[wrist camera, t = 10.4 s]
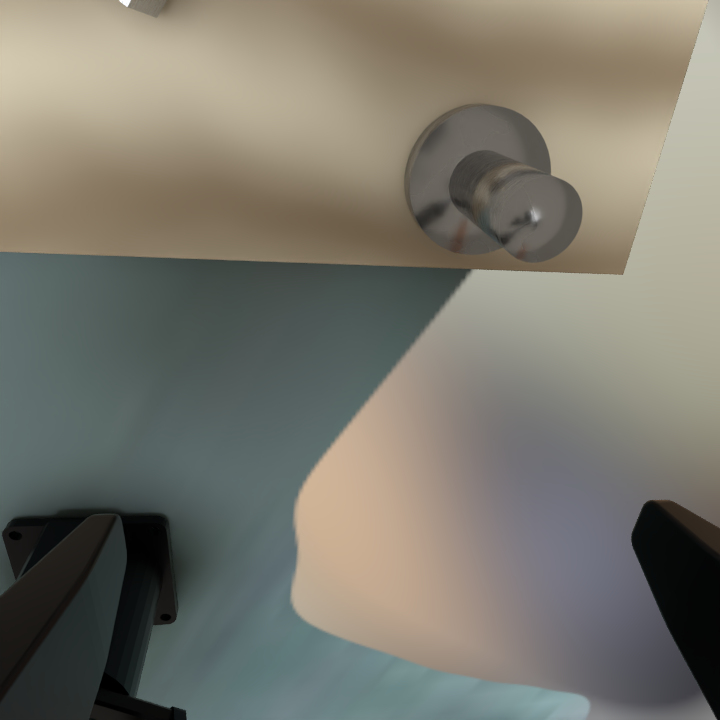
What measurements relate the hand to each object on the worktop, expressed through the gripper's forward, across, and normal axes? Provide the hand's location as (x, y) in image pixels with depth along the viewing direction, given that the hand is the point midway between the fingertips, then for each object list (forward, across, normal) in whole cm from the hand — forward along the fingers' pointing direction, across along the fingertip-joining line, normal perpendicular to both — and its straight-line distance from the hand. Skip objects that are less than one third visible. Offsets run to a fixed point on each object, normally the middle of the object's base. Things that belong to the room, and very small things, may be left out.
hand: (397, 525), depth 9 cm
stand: (+12, -4, -4) cm, 13 cm away
